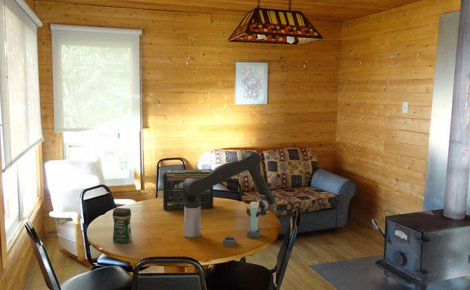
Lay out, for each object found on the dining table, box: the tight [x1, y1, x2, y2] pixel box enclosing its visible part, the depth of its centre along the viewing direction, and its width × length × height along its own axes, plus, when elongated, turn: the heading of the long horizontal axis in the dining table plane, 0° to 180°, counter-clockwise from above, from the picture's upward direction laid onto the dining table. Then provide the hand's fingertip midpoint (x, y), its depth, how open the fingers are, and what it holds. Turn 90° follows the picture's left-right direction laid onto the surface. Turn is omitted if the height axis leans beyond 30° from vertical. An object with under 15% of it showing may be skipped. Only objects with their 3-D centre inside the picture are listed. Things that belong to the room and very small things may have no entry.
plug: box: [249, 196, 259, 232], centre depth 239 cm, size 4×4×20 cm
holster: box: [222, 235, 237, 248], centre depth 227 cm, size 6×6×3 cm
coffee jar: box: [112, 207, 133, 244], centre depth 229 cm, size 10×8×19 cm
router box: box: [162, 168, 214, 211], centre depth 294 cm, size 36×11×27 cm, turn 99°
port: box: [246, 227, 261, 239], centre depth 240 cm, size 7×7×4 cm
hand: (253, 215), depth 236 cm, fingers closed on plug, 3 cm apart
